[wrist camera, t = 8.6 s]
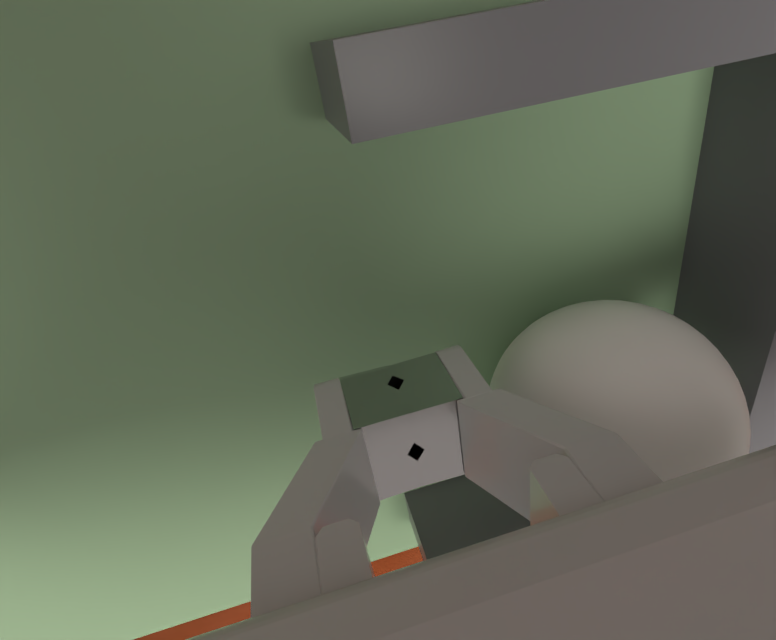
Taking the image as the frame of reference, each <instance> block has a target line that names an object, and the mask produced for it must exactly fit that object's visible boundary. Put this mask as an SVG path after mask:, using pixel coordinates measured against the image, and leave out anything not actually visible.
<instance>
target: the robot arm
mask: <svg viewBox="0 0 776 640" xmlns="http://www.w3.org/2000/svg"><path fill="white" fill-rule="evenodd" d="M340 382H341V384H340ZM341 386H342V387H341ZM342 390H343V391H342ZM314 394H315V400H316V406H317V411H318V417H319V423H320V428H321V434H322V439H323V440H320V441H316V442H315V443H314V444H313V446H312V448H311V449H310V451H309V453H308V454H307V456H306V458H305V459H304V461H303V463H302V464H301V466H300V467H299V469H298V471H297V472H296V474H295V476H294V477H293V479H292V481H291V482H290V484H289V485H288V487H287V489H286V490H285V492H284V494H283V495H282V497H281V499H280V500H279V502H278V503H277V505H276V507H275V508H274V510H273V512H272V513H271V515H270V517H269V518H268V520H267V521H266V523H265V525H264V526H263V528H262V530H261V531H260V533H259V535H258V536H257V538H256V539H255V541H254V543H253V544H252V546H251V618H249V619H246V620H243V621H240V622H237V623H234V624H231V625H228V626H225V627H222V628H219V629H216V630H213V631H210V632H207V633H204V634H201V635H198V636H195V637H192V638H189V639H186V640H776V445H773V446H770V447H767V448H764V449H761V450H758V451H755V452H752V453H749V454H746V455H743V456H740V457H737V458H734V459H731V460H728V461H725V462H722V463H719V464H716V465H713V466H710V467H707V468H704V469H701V470H698V471H695V472H692V473H688V474H685V475H682V476H679V477H676V478H673V479H670V480H667V481H664V482H663V481H662V480H661V479H660V478H659V477H658V476H657V475H656V474H655V473H654V472H653V470H652V469H651V468H650V467H649V466H648V465H647V464H646V463H645V462H644V461H643V460H642V459H641V458H640V457H639V456H638V455H637V454H636V453H635V452H634V450H633V449H632V448H631V447H630V446H629V445H628V444H627V443H626V442H625V441H624V440H623V439H622V438H621V437H620V436H619V435H618V434H617V433H616V432H613V431H610V430H608V429H605V428H602V427H600V426H597V425H594V424H592V423H589V422H587V421H584V420H581V419H579V418H576V417H573V416H571V415H568V414H565V413H563V412H560V411H558V410H555V409H552V408H550V407H547V406H544V405H542V404H539V403H536V402H534V401H531V400H529V399H526V398H523V397H521V396H518V395H515V394H513V393H510V392H507V391H505V390H502V389H495V390H492V389H491V388H490V386H489V385H488V384H487V382H486V381H485V379H484V378H483V377H482V375H481V374H480V372H479V371H478V370H477V368H476V367H475V365H474V364H473V363H472V361H471V360H470V358H469V357H468V356H467V354H466V353H465V351H464V350H463V349H462V347H461V346H459V345H455V346H451V347H448V348H445V349H442V350H438V351H435V352H434V353H431V354H427V355H424V356H420V357H417V358H413V359H410V360H406V361H403V362H399V363H396V364H392V365H389V366H388V365H387V366H383V367H379V368H375V369H371V370H367V371H363V372H359V373H355V374H351V375H347V376H344V377H340V380H339V379H338V378H336V379H332V380H329V381H325V382H321V383H318V384H314ZM343 394H344V395H343ZM344 398H345V399H344ZM345 401H346V402H345ZM346 405H347V406H346ZM347 409H348V410H347ZM464 474H465V477H467V478H468V479H470V480H471V481H473V482H474V483H476V484H477V485H478V486H480V487H481V488H483V489H484V490H486V491H487V492H489V493H490V494H492V495H493V496H494V497H496V498H497V499H499V500H500V501H502V502H503V503H505V504H506V505H508V506H509V507H510V508H512V509H513V510H515V511H516V512H518V513H519V514H521V515H522V516H524V517H525V518H526V519H528V520H529V521H530V526H528V527H525V528H522V529H519V530H516V531H513V532H510V533H507V534H504V535H501V536H498V537H495V538H491V539H488V540H485V541H482V542H479V543H476V544H473V545H470V546H467V547H464V548H461V549H458V550H455V551H452V552H449V553H446V554H443V555H440V556H437V557H434V558H431V559H428V560H425V561H422V562H419V563H416V564H413V565H410V566H407V567H404V568H401V569H398V570H395V571H392V572H389V573H386V574H383V575H380V576H377V577H375V575H374V571H373V568H372V565H371V561H370V558H369V554H368V551H367V544H368V541H369V538H370V535H371V531H372V528H373V525H374V522H375V519H376V516H377V512H378V509H379V506H380V500H383V499H386V498H389V497H392V496H395V495H398V494H401V493H404V492H407V491H410V490H413V489H416V488H418V487H421V486H425V485H429V484H432V483H436V482H439V481H443V480H446V479H450V478H453V477H457V476H461V475H464Z"/></svg>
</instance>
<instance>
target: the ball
mask: <svg viewBox="0 0 776 640" xmlns="http://www.w3.org/2000/svg"><path fill="white" fill-rule="evenodd" d="M490 388H491V389H492V390H495V389H502V390H505V391H507V392H510V393H513V394H515V395H518V396H521V397H523V398H526V399H529V400H531V401H534V402H536V403H539V404H542V405H544V406H547V407H550V408H552V409H555V410H558V411H560V412H563V413H565V414H568V415H571V416H573V417H576V418H579V419H581V420H584V421H587V422H589V423H592V424H594V425H597V426H600V427H602V428H605V429H608V430H610V431H613V432H616V433H617V434H618V435H619V436H620V437H621V438H622V439H623V440H624V441H625V442H626V443H627V444H628V445H629V446H630V447H631V448H632V449H633V450H634V452H635V453H636V454H637V455H638V456H639V457H640V458H641V459H642V460H643V461H644V462H645V463H646V464H647V465H648V466H649V467H650V468H651V469H652V470H653V472H654V473H655V474H656V475H657V476H658V477H659V478H660V479H661V480H662V481H663V482H664V481H667V480H670V479H673V478H676V477H679V476H682V475H685V474H688V473H692V472H695V471H698V470H701V469H704V468H707V467H710V466H713V465H716V464H719V463H722V462H725V461H728V460H731V459H734V458H737V457H740V456H743V455H746V454H749V448H750V436H751V430H750V416H749V411H748V407H747V402H746V398H745V395H744V393H743V390H742V388H741V385H740V383H739V380H738V379H737V377H736V375H735V373H734V372H733V370H732V368H731V366H730V365H729V363H728V362H727V361H726V359H725V358H724V357H723V356H722V354H721V353H720V352H719V350H718V349H717V348H716V347H715V346H714V345H713V344H712V343H711V342H710V341H709V340H708V339H707V338H706V337H705V336H704V335H703V334H701V333H700V332H699V331H697V330H696V329H695V328H693V327H692V326H691V325H689V324H688V323H686V322H684V321H683V320H681V319H679V318H677V317H676V316H674V315H672V314H669V313H667V312H665V311H662V310H660V309H658V308H654V307H651V306H647V305H644V304H640V303H635V302H628V301H622V300H596V301H586V302H581V303H576V304H572V305H568V306H565V307H563V308H560V309H558V310H555V311H552V312H550V313H548V314H546V315H545V316H543V317H541V318H540V319H538V320H536V321H535V322H533V323H532V324H531V325H529V326H528V327H527V328H526V329H525V330H524V331H522V332H521V333H520V334H519V335H518V336H517V337H516V338H515V339H514V340H513V341H512V343H511V344H510V345H509V346H508V348H507V349H506V351H505V352H504V354H503V355H502V357H501V359H500V360H499V362H498V365H497V367H496V369H495V371H494V374H493V377H492V379H491V383H490Z"/></svg>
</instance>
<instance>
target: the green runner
mask: <svg viewBox="0 0 776 640" xmlns="http://www.w3.org/2000/svg"><path fill="white" fill-rule="evenodd" d="M531 1H536V0H0V640H133V639H136V638H139V637H142V636H145V635H148V634H151V633H155V632H158V631H161V630H164V629H167V628H170V627H173V626H176V625H179V624H182V623H185V622H188V621H191V620H194V619H197V618H200V617H203V616H207V615H210V614H213V613H216V612H219V611H222V610H225V609H228V608H231V607H234V606H237V605H240V604H243V603H246V602H249V601H251V546H252V544H253V543H254V541H255V539H256V538H257V536H258V535H259V533H260V531H261V530H262V528H263V526H264V525H265V523H266V521H267V520H268V518H269V517H270V515H271V513H272V512H273V510H274V508H275V507H276V505H277V503H278V502H279V500H280V499H281V497H282V495H283V494H284V492H285V490H286V489H287V487H288V485H289V484H290V482H291V481H292V479H293V477H294V476H295V474H296V472H297V471H298V469H299V467H300V466H301V464H302V463H303V461H304V459H305V458H306V456H307V454H308V453H309V451H310V449H311V448H312V446H313V444H314V443H315V442H316V441H320V440H323V439H322V434H321V428H320V423H319V417H318V411H317V406H316V400H315V394H314V384H318V383H321V382H325V381H329V380H332V379H336V378H338V379H339V380H340V377H344V376H347V375H351V374H355V373H359V372H363V371H367V370H371V369H375V368H379V367H383V366H387V365H388V366H389V365H392V364H396V363H399V362H403V361H406V360H410V359H413V358H417V357H420V356H424V355H427V354H431V353H434V352H435V351H438V350H442V349H445V348H448V347H451V346H455V345H459V346H461V347H462V349H463V350H464V351H465V353H466V354H467V356H468V357H469V358H470V360H471V361H472V363H473V364H474V365H475V367H476V368H477V370H478V371H479V372H480V374H481V375H482V377H483V378H484V379H485V381H486V382H487V384H488V385H489V386H490V383H491V379H492V377H493V374H494V371H495V369H496V367H497V365H498V362H499V360H500V359H501V357H502V355H503V354H504V352H505V351H506V349H507V348H508V346H509V345H510V344H511V343H512V341H513V340H514V339H515V338H516V337H517V336H518V335H519V334H520V333H521V332H522V331H524V330H525V329H526V328H527V327H528V326H529V325H531V324H532V323H533V322H535V321H536V320H538V319H540V318H541V317H543V316H545V315H546V314H548V313H550V312H552V311H555V310H558V309H560V308H563V307H565V306H568V305H572V304H576V303H581V302H586V301H596V300H622V301H628V302H635V303H640V304H644V305H647V306H651V307H654V308H658V309H660V310H662V311H665V312H667V313H669V314H672V315H673V314H674V308H675V302H676V296H677V290H678V284H679V278H680V272H681V266H682V259H683V253H684V247H685V241H686V235H687V229H688V223H689V217H690V211H691V205H692V199H693V193H694V187H695V181H696V175H697V169H698V162H699V156H700V150H701V144H702V138H703V132H704V126H705V120H706V114H707V108H708V102H709V96H710V90H711V84H712V78H713V72H714V67H709V68H704V69H700V70H695V71H690V72H686V73H681V74H676V75H672V76H667V77H662V78H658V79H653V80H648V81H644V82H639V83H635V84H630V85H625V86H621V87H616V88H611V89H607V90H602V91H597V92H593V93H588V94H583V95H579V96H574V97H569V98H565V99H560V100H555V101H551V102H546V103H541V104H537V105H532V106H527V107H523V108H518V109H514V110H509V111H504V112H500V113H495V114H490V115H486V116H481V117H476V118H472V119H467V120H462V121H458V122H453V123H448V124H444V125H439V126H434V127H430V128H425V129H420V130H416V131H411V132H406V133H402V134H397V135H392V136H388V137H383V138H379V139H374V140H369V141H365V142H360V143H355V144H352V143H350V142H349V141H348V140H347V139H346V138H345V137H344V136H343V135H342V134H341V133H340V132H339V131H338V130H337V129H336V128H335V127H334V126H333V125H332V124H331V123H330V122H328V121H327V120H326V117H325V112H324V108H323V103H322V98H321V93H320V88H319V84H318V79H317V74H316V69H315V65H314V60H313V55H312V50H311V45H310V42H316V41H321V40H327V39H332V38H337V37H343V36H348V35H353V34H359V33H364V32H370V31H375V30H380V29H386V28H391V27H396V26H402V25H407V24H413V23H418V22H423V21H429V20H434V19H439V18H445V17H450V16H456V15H461V14H466V13H472V12H477V11H482V10H488V9H493V8H499V7H504V6H509V5H515V4H520V3H526V2H531ZM340 384H341V382H340ZM341 387H342V386H341ZM342 391H343V390H342ZM343 395H344V394H343ZM344 399H345V398H344ZM345 402H346V401H345ZM346 406H347V405H346ZM347 410H348V409H347ZM457 477H458V476H457ZM453 478H454V477H453ZM450 479H451V478H450ZM446 480H448V479H446ZM443 481H445V480H443ZM439 482H442V481H439ZM436 483H438V482H436ZM432 484H435V483H432ZM432 484H429V485H432ZM429 485H425V486H421V487H418V488H416V489H419V488H422V487H426V486H429ZM416 489H413V490H416ZM413 490H410V491H413ZM407 492H409V491H407ZM404 493H406V492H404ZM404 493H401V494H398V495H395V496H392V497H389V498H386V499H383V500H380V506H379V509H378V512H377V516H376V519H375V522H374V525H373V528H372V531H371V535H370V538H369V541H368V544H367V551H368V554H369V558H370V561H371V562H372V561H375V560H378V559H381V558H384V557H387V556H390V555H393V554H396V553H399V552H402V551H405V550H409V549H412V548H415V547H418V543H417V540H416V537H415V534H414V531H413V528H412V525H411V522H410V518H409V514H408V509H407V504H406V499H405V495H404Z"/></svg>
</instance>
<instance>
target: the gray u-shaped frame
mask: <svg viewBox="0 0 776 640" xmlns="http://www.w3.org/2000/svg"><path fill="white" fill-rule="evenodd" d="M310 45H311V50H312V55H313V60H314V65H315V69H316V74H317V79H318V84H319V88H320V93H321V98H322V103H323V108H324V112H325V117H326V120H327V121H328V122H330V123H331V124H332V125H333V126H334V127H335V128H336V129H337V130H338V131H339V132H340V133H341V134H342V135H343V136H344V137H345V138H346V139H347V140H348V141H349V142H350V143H352V144H355V143H360V142H365V141H369V140H374V139H379V138H383V137H388V136H392V135H397V134H402V133H406V132H411V131H416V130H420V129H425V128H430V127H434V126H439V125H444V124H448V123H453V122H458V121H462V120H467V119H472V118H476V117H481V116H486V115H490V114H495V113H500V112H504V111H509V110H514V109H518V108H523V107H527V106H532V105H537V104H541V103H546V102H551V101H555V100H560V99H565V98H569V97H574V96H579V95H583V94H588V93H593V92H597V91H602V90H607V89H611V88H616V87H621V86H625V85H630V84H635V83H639V82H644V81H648V80H653V79H658V78H662V77H667V76H672V75H676V74H681V73H686V72H690V71H695V70H700V69H704V68H709V67H714V72H713V78H712V84H711V90H710V96H709V102H708V108H707V114H706V120H705V126H704V132H703V138H702V144H701V150H700V156H699V162H698V169H697V175H696V181H695V187H694V193H693V199H692V205H691V211H690V217H689V223H688V229H687V235H686V241H685V247H684V253H683V259H682V266H681V272H680V278H679V284H678V290H677V296H676V302H675V308H674V314H673V315H674V316H676V317H677V318H679V319H681V320H683V321H684V322H686V323H688V324H689V325H691V326H692V327H693V328H695V329H696V330H697V331H699V332H700V333H701V334H703V335H704V336H705V337H706V338H707V339H708V340H709V341H710V342H711V343H712V344H713V345H714V346H715V347H716V348H717V349H718V350H719V352H720V353H721V354H722V356H723V357H724V358H725V359H726V361H727V362H728V363H729V365H730V366H731V368H732V370H733V372H734V373H735V375H736V377H737V379H738V380H739V383H740V385H741V388H742V390H743V393H744V395H745V398H746V402H747V407H748V411H749V416H750V430H751V436H750V448H749V453H752V452H755V451H758V450H761V449H764V448H767V447H770V446H773V445H776V0H536V1H531V2H526V3H520V4H515V5H509V6H504V7H499V8H493V9H488V10H482V11H477V12H472V13H466V14H461V15H456V16H450V17H445V18H439V19H434V20H429V21H423V22H418V23H413V24H407V25H402V26H396V27H391V28H386V29H380V30H375V31H370V32H364V33H359V34H353V35H348V36H343V37H337V38H332V39H327V40H321V41H316V42H310ZM404 495H405V499H406V504H407V509H408V514H409V518H410V522H411V525H412V528H413V531H414V534H415V537H416V540H417V543H418V546H419V549H420V552H421V555H422V558H423V561H425V560H428V559H431V558H434V557H437V556H440V555H443V554H446V553H449V552H452V551H455V550H458V549H461V548H464V547H467V546H470V545H473V544H476V543H479V542H482V541H485V540H488V539H491V538H495V537H498V536H501V535H504V534H507V533H510V532H513V531H516V530H519V529H522V528H525V527H528V526H530V521H529V520H528V519H526V518H525V517H524V516H522V515H521V514H519V513H518V512H516V511H515V510H513V509H512V508H510V507H509V506H508V505H506V504H505V503H503V502H502V501H500V500H499V499H497V498H496V497H494V496H493V495H492V494H490V493H489V492H487V491H486V490H484V489H483V488H481V487H480V486H478V485H477V484H476V483H474V482H473V481H471V480H470V479H468V478H467V477H465V474H464V475H461V476H458V477H454V478H451V479H448V480H445V481H442V482H438V483H435V484H432V485H429V486H426V487H422V488H419V489H416V490H413V491H409V492H406V493H404Z"/></svg>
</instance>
